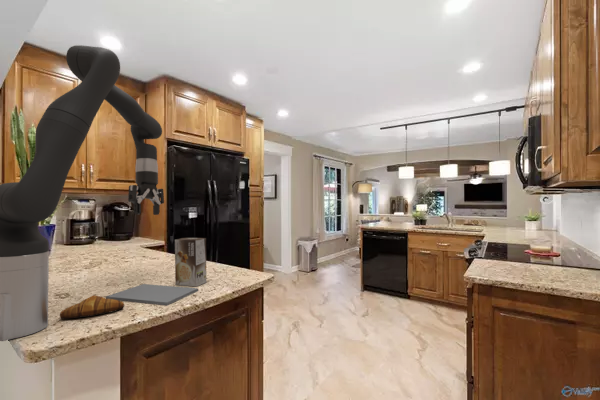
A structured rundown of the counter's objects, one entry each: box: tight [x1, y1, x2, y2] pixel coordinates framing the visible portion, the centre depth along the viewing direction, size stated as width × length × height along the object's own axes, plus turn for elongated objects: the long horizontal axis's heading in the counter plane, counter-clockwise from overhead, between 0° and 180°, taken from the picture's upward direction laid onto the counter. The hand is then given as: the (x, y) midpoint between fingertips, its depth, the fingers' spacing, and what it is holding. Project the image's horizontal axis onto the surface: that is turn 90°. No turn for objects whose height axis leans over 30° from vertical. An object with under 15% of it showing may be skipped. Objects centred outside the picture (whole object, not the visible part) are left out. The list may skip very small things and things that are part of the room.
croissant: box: [59, 294, 125, 320], centre depth 73 cm, size 14×7×5 cm, turn 120°
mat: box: [105, 283, 199, 306], centre depth 88 cm, size 14×22×1 cm, turn 74°
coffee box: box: [174, 237, 208, 287], centre depth 101 cm, size 9×6×16 cm
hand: (147, 214), depth 106 cm, fingers open, 8 cm apart
